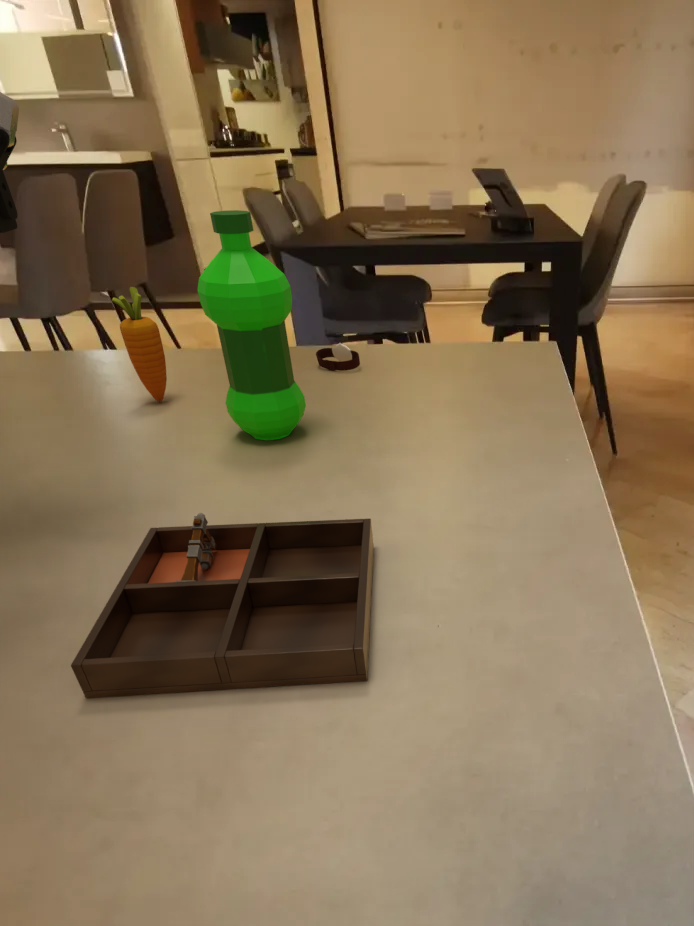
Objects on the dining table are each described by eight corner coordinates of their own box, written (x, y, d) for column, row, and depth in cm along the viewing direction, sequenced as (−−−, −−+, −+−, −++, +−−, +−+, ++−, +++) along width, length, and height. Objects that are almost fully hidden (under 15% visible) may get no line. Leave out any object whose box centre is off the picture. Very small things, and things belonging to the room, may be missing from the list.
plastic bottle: (293, 414, 98) (258, 205, 83) (322, 437, 91) (290, 214, 76) (222, 428, 94) (171, 210, 79) (247, 454, 87) (197, 221, 72)
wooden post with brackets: (224, 538, 66) (208, 507, 62) (211, 610, 63) (194, 582, 59) (204, 538, 66) (188, 507, 62) (191, 610, 63) (172, 582, 59)
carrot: (156, 409, 99) (123, 294, 90) (134, 403, 102) (99, 289, 92) (185, 400, 103) (155, 287, 94) (163, 394, 105) (132, 283, 96)
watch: (366, 366, 117) (364, 343, 114) (352, 374, 113) (349, 350, 111) (326, 361, 119) (323, 338, 117) (311, 368, 115) (307, 345, 113)
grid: (85, 698, 51) (70, 665, 49) (159, 556, 67) (150, 527, 65) (367, 680, 53) (363, 648, 51) (373, 546, 69) (370, 518, 67)
